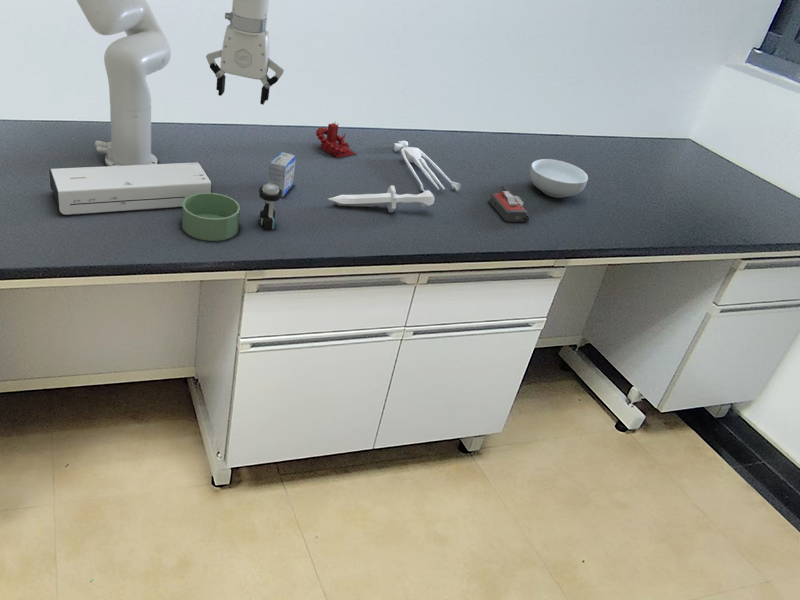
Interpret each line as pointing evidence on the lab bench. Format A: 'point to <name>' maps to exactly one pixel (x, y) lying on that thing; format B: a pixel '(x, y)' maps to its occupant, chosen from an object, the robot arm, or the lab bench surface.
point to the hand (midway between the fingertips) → (242, 98)
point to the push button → (269, 204)
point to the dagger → (384, 199)
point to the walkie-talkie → (509, 206)
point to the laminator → (126, 187)
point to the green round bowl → (210, 216)
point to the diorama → (333, 141)
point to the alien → (420, 163)
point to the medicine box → (282, 171)
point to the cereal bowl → (557, 178)
